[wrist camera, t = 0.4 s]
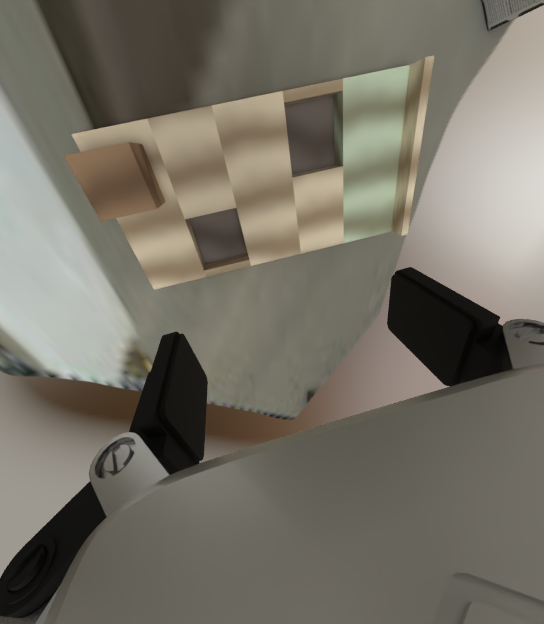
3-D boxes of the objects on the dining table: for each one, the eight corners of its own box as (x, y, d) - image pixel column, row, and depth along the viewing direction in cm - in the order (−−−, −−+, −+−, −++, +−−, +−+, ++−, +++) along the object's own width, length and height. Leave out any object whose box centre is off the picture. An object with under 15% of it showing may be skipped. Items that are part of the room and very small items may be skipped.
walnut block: (87, 155, 26) (63, 155, 22) (142, 144, 26) (128, 142, 22) (117, 212, 29) (101, 221, 25) (165, 201, 30) (156, 209, 26)
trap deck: (84, 136, 27) (58, 132, 23) (401, 70, 30) (434, 55, 25) (158, 280, 38) (150, 297, 34) (386, 225, 40) (407, 234, 36)
